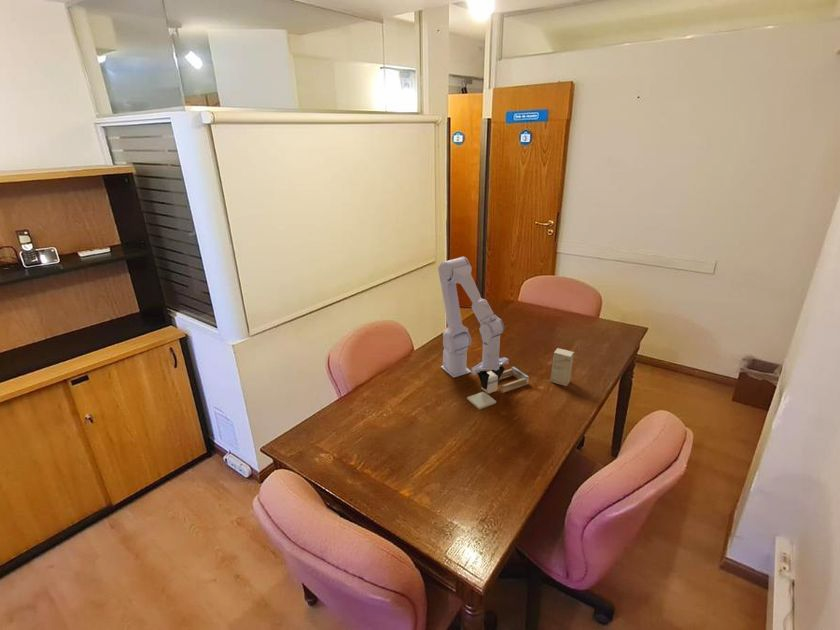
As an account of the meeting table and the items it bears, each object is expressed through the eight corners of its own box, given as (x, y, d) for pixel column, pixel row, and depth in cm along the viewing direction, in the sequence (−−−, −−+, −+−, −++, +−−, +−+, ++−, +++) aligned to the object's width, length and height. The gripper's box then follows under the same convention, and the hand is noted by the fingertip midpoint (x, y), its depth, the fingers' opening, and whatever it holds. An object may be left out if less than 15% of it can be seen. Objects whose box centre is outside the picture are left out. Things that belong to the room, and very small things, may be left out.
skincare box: (549, 381, 161) (552, 352, 156) (553, 376, 165) (556, 347, 160) (567, 386, 158) (570, 356, 153) (570, 381, 161) (574, 351, 157)
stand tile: (467, 399, 152) (467, 397, 152) (483, 393, 155) (483, 391, 155) (479, 409, 147) (479, 407, 146) (496, 403, 150) (496, 401, 149)
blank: (481, 388, 158) (481, 373, 156) (490, 385, 160) (491, 370, 158) (488, 393, 155) (488, 379, 153) (497, 390, 157) (498, 375, 154)
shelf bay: (488, 381, 162) (488, 374, 161) (513, 373, 167) (513, 366, 166) (503, 392, 155) (503, 385, 154) (528, 383, 160) (528, 376, 159)
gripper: (480, 362, 145) (479, 397, 151) (515, 351, 152) (512, 385, 157) (468, 353, 151) (467, 387, 156) (502, 343, 157) (500, 376, 163)
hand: (489, 386), depth 157 cm, fingers closed on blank, 4 cm apart
